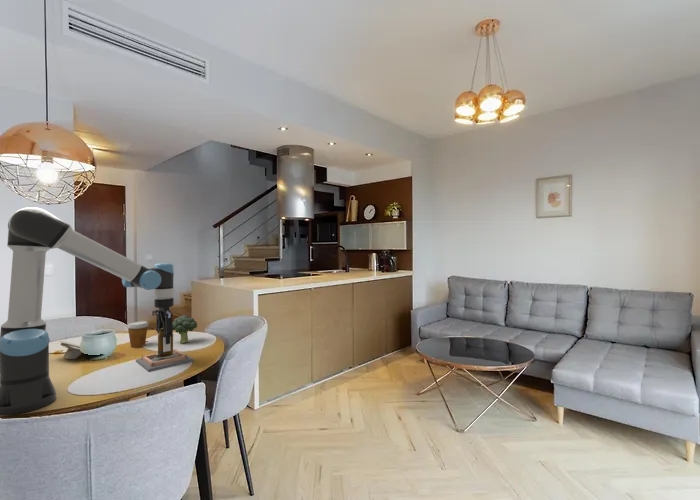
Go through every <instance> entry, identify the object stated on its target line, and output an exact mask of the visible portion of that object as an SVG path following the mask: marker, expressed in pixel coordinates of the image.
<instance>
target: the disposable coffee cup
mask: <svg viewBox="0 0 700 500" xmlns="http://www.w3.org/2000/svg"><path fill="white" fill-rule="evenodd" d="M126 327H127V330H128V337H129V343H130V348H134V349H136V348H141V347H142V348H143V347H144V346H146V342H147V341H146V340H147V333H148V327H149V323H148V321H146V320H139V321H131V322H129V323H127V326H126Z"/></svg>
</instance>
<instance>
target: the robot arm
mask: <svg viewBox="0 0 700 500" xmlns="http://www.w3.org/2000/svg"><path fill="white" fill-rule="evenodd" d="M7 229H8V230H7V248H9V249H10V250H11V251H12V262H11V270H10V271H11V273H10V288H9V297H8V298H9V299H8V300H9V301H8V309H7V310H8V311H7V320H6V321H5V322H4V323H2V324H0V325H1V326H0V416H13V415H19V414H23V413H27V412H28V413H29V412H31V411H35V410H37V409H41V408H44V407H45V406H47V405H50V404H51V403H53V402H54V401H55V400H56V398H57V390H56V388H55V386H54V384H53V382H52V379H51V377H50V359H49V358H50V353H49V352H50V351H49V350H50V345H49V344H50V337H49V333H48V331H47V330H46V329H47V322H46V321H45V320H43V319H42V309H43V308H42V307H43V297H44V295H43V294H44V284H45V283H44V282H45V281H44V280H45V269H46V268H45V267H46V255H47V252H48V251H49V250H52V249H59V250H60V251H61V250H62V251H64V252H65V253H67V254H69V255H72V256H74V257H76V258H77V259H80V260H82V261H84V262H86V263H89V264H91V265H93V266H94V267H97V268H100V269H102V270H103V271H106V272H108V273H110V274H112V275H114V276H116V277H118V278H120V279H121V283H122V285H123V287H124V288H139V289H144V290H147V291H149V290H153V291H154V293H153V295H154V296H153V297H154V298H155V299H154V301H153V302H154V308H157V309H156V312H155V313H156V315H155V316H156V319H155V320H156V324H155V331H156V332H157V336H158V335H159V329H160V328H164V336H163V352H167V351H171V335H173V336H174V332H173V331H174V330H173V327H172V323H173V312H171V310H170V308H172V307H174V305H175V304H174V303H175V302H174V298H173V297H174V292H175V289H174V277H175V276H174V274H175V273H174V265H173V263H167V262H166V263H164V262H163V263H155V264H154V267H151V268H147V267H145V266H143V265H142V264H139V263H138V262H136V261H134V260H132V259H130V258H128V257H126V256H125V255H123V254H121V253H119V252H116V251H114V250H112V249H111V248H109V247H106V246H104V245H103V244H101V243H99V242H97V241H96V240H93V239H92V238H89V237H88V236H86V235H84V234H82V233H80V232H77V231H76V230H74V229H73V228H72V225H71V224H69V223H68V222H65V221H63V220H62V219H60V218H58V217H57V216H55V214H54V215H53V214H52V213H50V212H49V211H48V210H45V209H43V208H40V207H34V206H33V207H31V206H29V207H23V208H21V209H20V208H19V209H18V210H17V211H15V212H14V213H13V214H12V215H11V216H10V218H9V220H8V222H7Z"/></svg>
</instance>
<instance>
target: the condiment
mask: <svg viewBox="0 0 700 500" xmlns="http://www.w3.org/2000/svg"><path fill="white" fill-rule="evenodd" d="M163 336H164V328H160V329H159V335H158V334H157V352H156V353H157V354H156V356H155V357H154V358H167V357H173V355H174V353H175V351H174V352H173V350H174V334H173V335H171V351H167V352H163Z"/></svg>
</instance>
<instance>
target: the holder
mask: <svg viewBox="0 0 700 500" xmlns="http://www.w3.org/2000/svg"><path fill="white" fill-rule="evenodd" d="M174 351H175V353H174V355H173V357H167V358H154V357H155V356H156V354H157V353H158V352H156V353H151V354H146V355H142V356H141V358H137V359H136V358H135V362H136V363H137V364H138V365H139V366H141V367H142V368H143V369H144V370H145V371H147V372H148V373H149V372H152V371H156V370H162V369H166V368H171V367H175V366H179V365H182V364H186V363H192V362H194V358H192V357H191V356H188V355H187V354H185V353H183V352H182V351H180V350H178V349H173V352H174Z"/></svg>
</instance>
